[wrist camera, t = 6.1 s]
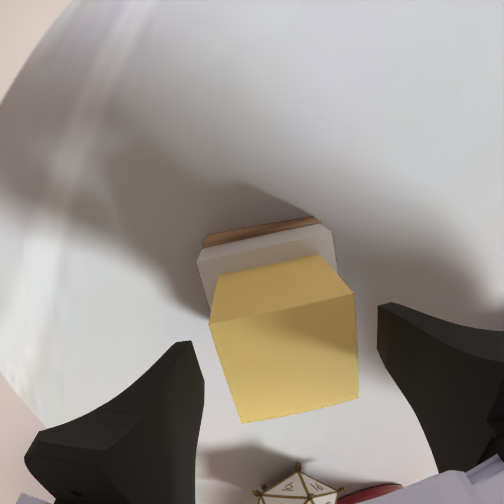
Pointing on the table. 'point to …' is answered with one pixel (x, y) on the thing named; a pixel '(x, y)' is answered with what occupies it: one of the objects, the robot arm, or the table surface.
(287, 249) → the tower top slab
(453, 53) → the table surface
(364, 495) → the canister
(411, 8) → the table surface
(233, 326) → the mustard cube
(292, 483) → the game die
